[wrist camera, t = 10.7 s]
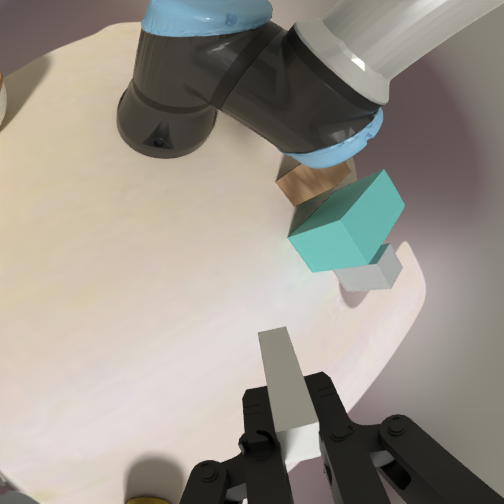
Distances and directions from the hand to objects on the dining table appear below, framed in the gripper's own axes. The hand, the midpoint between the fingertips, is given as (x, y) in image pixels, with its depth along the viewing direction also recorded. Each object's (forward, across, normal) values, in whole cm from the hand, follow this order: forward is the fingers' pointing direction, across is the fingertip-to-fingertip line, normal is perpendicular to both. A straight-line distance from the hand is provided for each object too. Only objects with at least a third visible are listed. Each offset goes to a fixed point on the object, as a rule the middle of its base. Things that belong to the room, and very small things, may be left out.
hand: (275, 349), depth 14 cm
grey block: (+31, +16, -11) cm, 36 cm away
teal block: (+32, +13, -3) cm, 35 cm away
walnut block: (+33, +9, +5) cm, 35 cm away
